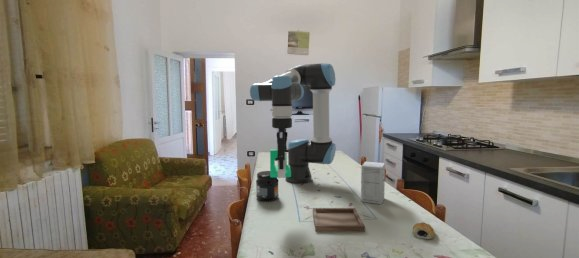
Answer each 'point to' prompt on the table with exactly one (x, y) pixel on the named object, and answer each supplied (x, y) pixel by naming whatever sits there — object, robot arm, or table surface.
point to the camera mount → (275, 167)
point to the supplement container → (266, 187)
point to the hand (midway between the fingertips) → (282, 172)
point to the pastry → (423, 231)
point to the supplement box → (372, 182)
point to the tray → (337, 220)
